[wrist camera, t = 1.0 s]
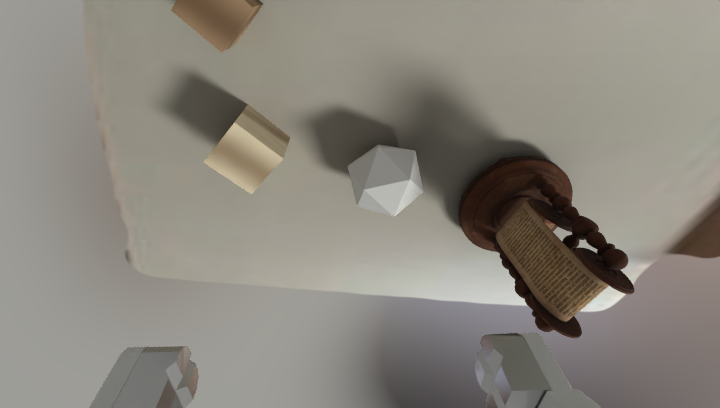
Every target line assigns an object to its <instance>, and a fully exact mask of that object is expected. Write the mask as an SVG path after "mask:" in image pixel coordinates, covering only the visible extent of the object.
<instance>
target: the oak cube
mask: <svg viewBox="0 0 720 408" xmlns="http://www.w3.org/2000/svg"><path fill="white" fill-rule="evenodd" d="M289 140H290V137H289V136H287V135H286V134H285V133H284V132H282V131H281V130H280V129H279V128H277V127H276V126H275V125H273V124H272V123H271V122H270V121H268V120H267V119H266V118H265V117H263V116H262V115H261V114H260V113H258V112H257V111H256V110H254V109H253V108H252V107H251V106H249V105H247V106H246V108H245V109H244V110H243V112H242V113H241V114H240V115H239V117H238V118H237V119H236V121H235V122H234V123H233V124H232V126H231V127H230V128H229V130H228V131H227V132H226V134H225V135H224V136H223V137H222V139H221V140H220V141H219V143H218V144H217V145H216V147H215V148H214V149H213V151H212V152H211V153H210V155H209V156H208V157H207V159H206V160H205V161H204V163H205V164H207V165H208V166H210V167H211V168H213V169H214V170H216V171H217V172H219V173H220V174H222V175H223V176H225V177H226V178H228V179H229V180H231V181H232V182H234V183H235V184H237V185H238V186H240V187H241V188H243V189H244V190H246V191H247V192H249V193H250V194H252V193H253V192H254V191H255V190H256V189H257V187H258V186H259V185H260V184H261V183H262V182H263V181H264V180H265V179H266V177H267V176H268V175H269V174H270V173H271V172H272V171H273V170H274V168H275V167H276V166H277V165H278V164H279V163H280V162H281V161H282V160H283V158H284V155H285V152H286V149H287V146H288V143H289Z"/></svg>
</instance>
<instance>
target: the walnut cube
mask: <svg viewBox="0 0 720 408" xmlns="http://www.w3.org/2000/svg"><path fill="white" fill-rule="evenodd" d="M262 5H263V3H262V2H261V1H260V0H176V2H175V4H174V6H173V7H172V9H171V11H172V12H174V13H175V14H176V15H177V16H178V17H180V18H181V19H182V20H183V21H184V22H186V23H187V24H188V25H189V26H190V27H192V28H193V29H194V30H195V31H196V32H198V33H199V34H200V35H201V36H203V37H204V38H205V39H206V40H207V41H209V42H210V43H211V44H212V45H213V46H215V47H216V48H217V49H218V50H219V51H221V52H223V51H225V50H226V49H228V48H230V47H231V46H233V45H235V44H236V43H237V41H238V40H239V38H240V37H241V35H242V34H243V32H244V31H245V30H246V28H247V27H248V25H249V24H250V22H251V21H252V19H253V18H254V16H255V15H256V14H257V12H258V11H259V9H260V8H261V6H262Z"/></svg>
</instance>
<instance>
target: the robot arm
mask: <svg viewBox="0 0 720 408" xmlns="http://www.w3.org/2000/svg"><path fill="white" fill-rule="evenodd" d="M480 344H481V347H482V349H481V350H479V351H478V352H477V354H476V358H475V371H476V376H477V379H478V382H479V385H480V387H481V388H482V389H483V390H484V391H485V392H486V393H487V394H488V397H487V401H486V405H487V408H601V407H600V406H599V405H597V404H596V403H595V402H594V401H592V400H591V399H590V398H588V397H587V396H586V395H585V394H583V393H582V392H581V391H579V390H578V389H572V388H571V386H570V384H569V383H568V381H567V379H566V377H565V376H564V374H563V373H562V371H561V369H560V367H559V366H558V364H557V362H556V360H555V359H554V357H553V356H552V354H551V352H550V350H549V349H548V347H547V345H546V343H545V342H544V340H543V338H542V337H541V336H540V335H539V334H538V333H521V334H518V333H510V334H491V335H484V336H483V337H482V338H481V341H480ZM190 357H191V351H190V349H189V347H188V346H178V347H133V348H127V349H126V350H125V351H124V352H122V353H121V355H120V356H119V358H118V360H117V361H116V363H115V365H114V367H113V368H112V370H111V372H110V373H109V375H108V377H107V378H106V380H105V382H104V383H103V385H102V387H101V388H100V390H99V392H98V394H97V395H96V397H95V399H94V400H93V402H92V404H91V405H90V407H89V408H185V407H186V406H187V405H188V404H189V403H190V402H191V401H192V400H193V399H194V396H195V393H196V390H197V383H198V368H197V366H196V364H195V363H194V362H192V361H191V360H189V359H190Z"/></svg>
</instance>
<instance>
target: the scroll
mask: <svg viewBox="0 0 720 408" xmlns="http://www.w3.org/2000/svg"><path fill="white" fill-rule="evenodd" d="M571 202H572V186H571V183H570V180H569V178H568V176H567V175H566V174H565V173H564V172H563V171H562V170H561V169H560V168H559V167H558V166H557V165H555V164H554V163H552V162H551V161H549V160H546V159H543V158H539V157H532V156H523V157H516V158H511V159H508V160H507V159H505V158H502V159H500V162H499V163H497V164H495V165H493V166H491V167H490V168H488V169H486V170H485V171H484V172H482V173H481V174H480V175H479V176H478V177H476V178H475V179H474V180H473V182H472V183H471V184H470V185H469V186H468V188H467V189H466V191H465V193H464V194H463V196H462V199H461V202H460V205H459V213H458V215H459V222H460V225H461V228H462V230H463V232H464V234H465V235H466V237H467V238H468V239H469V240H470V241H471V242H472V243H473V244H475V245H476V246H478V247H480V248H483V249H486V250H489V251H496V252H499V253H500V258H501V259H502V265H503V266H504V267H505V268H506V269H509V274H510V275H511V276H512V277H513V278H514V279H515V291H516V293H517V294H518V295H519V296H520V297H522V298H524V299H525V302H526V304H527V305H528V306H529V307H530V308H531V309H532V310H533V312H532V315H533V316H534V317H536V318H535V323H536V325H537V327H538V328H539V329H540V330H542V331H544V332H550V331H552V330H556V331H557V332H559V333H560V334H562V335H565V336H567V337H570V338H578V337H580V336H581V334H582V331H581V327H580V325H579V323H578V321H577V320H576V318H575V317H574V315H575V314H577V313H578V312H579V311H580V310H581V309H582V308H584V307H585V306H586V305H587V304H588V303H589V302H590V301H592V300H593V299H594V298H595V297H596V296H597V295H599V294H600V293H601V292H602V291H603V290H604V289H606V288H607V287H608V286H611V287H612V288H614V289H616V290H618V291H620V292H622V293H625V294H632V293H634V288H633V284H632V283H631V281H630V280H629V279H628V277H627V276H626V275H625V274H624V273H623V272H622V271H621V269H623V268H625V267H626V266H627V264H628V257H627V255H626V254H625V253H624V252H623V251H621V250H619V249H615V246H614V245H613V244H610V243H609V244H607V242H606V240H605V237H604V236H603V235H602V234H601V233H600V232H598V230H599V228H598V225H597V224H596V223H594V222H593V221H592V220H590V219H588V218H586V217H584V216H579V213H578V211H577V209H576V208H575V207H573V206H572V203H571ZM557 227H560V228H562V229H564V230H567V231H570V232H572V235H569V236H566V237H565V238H564V239H563V241H561V240H560V239H559V238H558V237H557V236H556V235H555V234H554V233H553V231H554V230H555V229H556V228H557ZM580 239H581V240H584V239H585V240H587V243H588V244H589V245H591V246H592V247H594V248H596V249H598V251H597V253H595V252H593V251H591V250H589V249H586V248H576V247H578V245H579V240H580Z"/></svg>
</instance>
